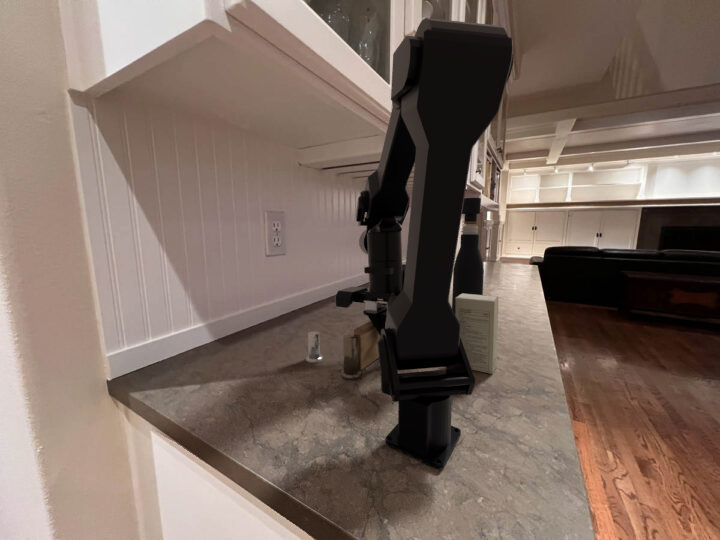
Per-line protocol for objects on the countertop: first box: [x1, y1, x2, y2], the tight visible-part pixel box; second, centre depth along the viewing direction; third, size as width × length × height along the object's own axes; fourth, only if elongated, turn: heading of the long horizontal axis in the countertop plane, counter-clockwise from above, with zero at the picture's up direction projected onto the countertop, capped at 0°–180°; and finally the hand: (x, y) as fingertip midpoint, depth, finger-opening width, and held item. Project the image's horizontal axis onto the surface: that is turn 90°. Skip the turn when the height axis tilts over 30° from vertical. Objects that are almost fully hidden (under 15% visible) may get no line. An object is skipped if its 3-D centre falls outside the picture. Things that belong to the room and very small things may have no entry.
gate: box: [353, 320, 380, 371], centre depth 52 cm, size 9×1×7 cm, turn 147°
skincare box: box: [455, 293, 499, 375], centre depth 49 cm, size 6×4×12 cm
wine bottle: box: [451, 197, 485, 313], centre depth 65 cm, size 6×6×30 cm
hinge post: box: [340, 333, 362, 381], centre depth 47 cm, size 3×3×6 cm
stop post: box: [305, 330, 324, 364], centre depth 52 cm, size 3×3×5 cm
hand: (388, 348), depth 51 cm, fingers closed
